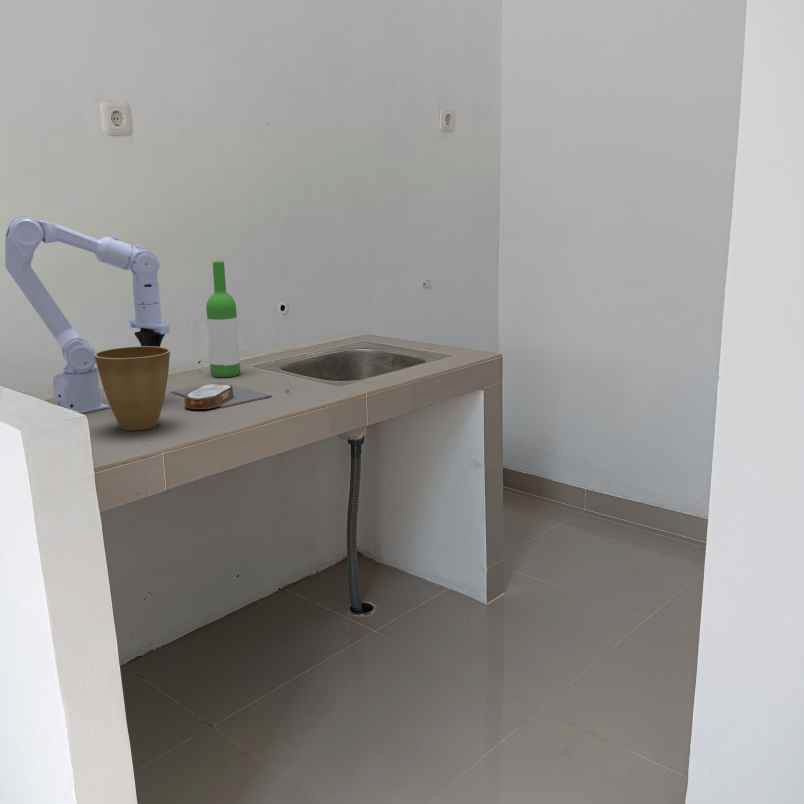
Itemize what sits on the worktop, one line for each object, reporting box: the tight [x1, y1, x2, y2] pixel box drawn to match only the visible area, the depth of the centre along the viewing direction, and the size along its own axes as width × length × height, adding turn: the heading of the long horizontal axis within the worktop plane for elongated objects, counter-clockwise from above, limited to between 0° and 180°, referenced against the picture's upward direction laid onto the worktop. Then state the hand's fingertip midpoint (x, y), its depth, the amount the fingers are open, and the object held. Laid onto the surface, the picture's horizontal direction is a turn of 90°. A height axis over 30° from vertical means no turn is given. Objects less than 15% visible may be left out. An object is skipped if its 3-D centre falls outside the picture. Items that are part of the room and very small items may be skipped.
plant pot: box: [95, 345, 171, 432], centre depth 180 cm, size 15×15×16 cm
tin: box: [183, 383, 234, 410], centre depth 200 cm, size 15×3×8 cm
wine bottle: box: [205, 260, 241, 378], centre depth 226 cm, size 8×8×30 cm
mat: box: [170, 381, 273, 409], centre depth 208 cm, size 14×22×1 cm, turn 45°
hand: (152, 361), depth 201 cm, fingers closed
